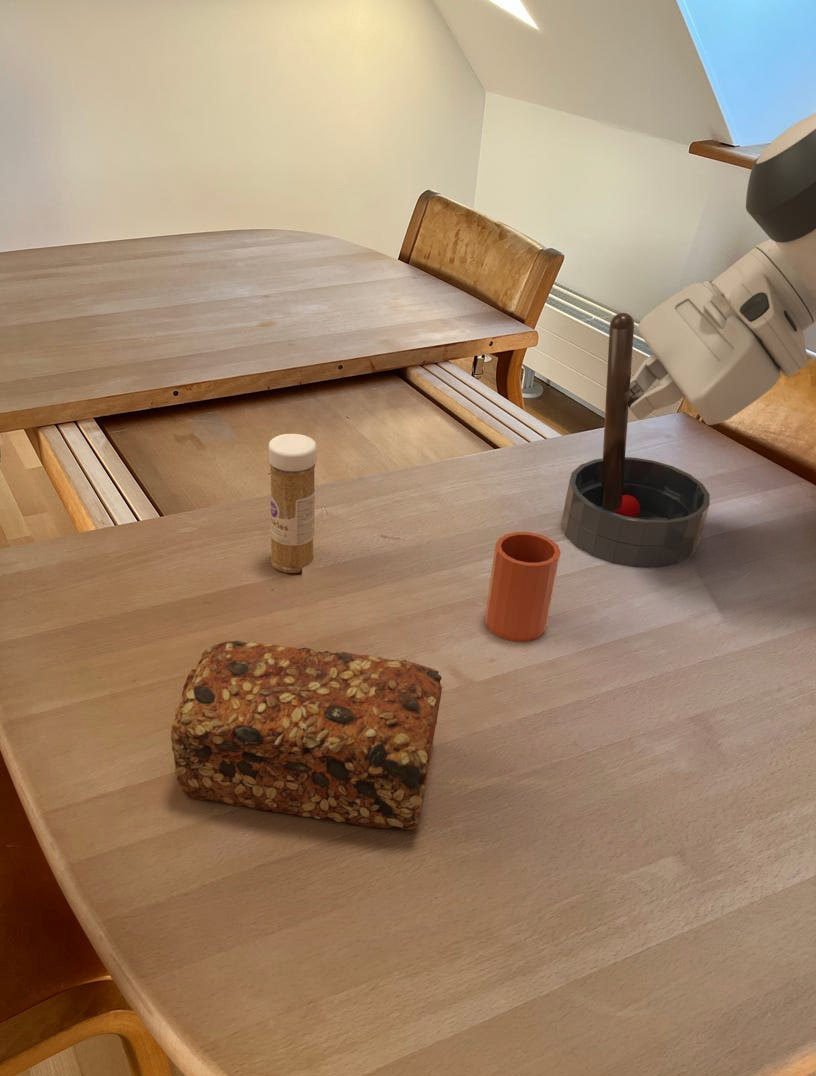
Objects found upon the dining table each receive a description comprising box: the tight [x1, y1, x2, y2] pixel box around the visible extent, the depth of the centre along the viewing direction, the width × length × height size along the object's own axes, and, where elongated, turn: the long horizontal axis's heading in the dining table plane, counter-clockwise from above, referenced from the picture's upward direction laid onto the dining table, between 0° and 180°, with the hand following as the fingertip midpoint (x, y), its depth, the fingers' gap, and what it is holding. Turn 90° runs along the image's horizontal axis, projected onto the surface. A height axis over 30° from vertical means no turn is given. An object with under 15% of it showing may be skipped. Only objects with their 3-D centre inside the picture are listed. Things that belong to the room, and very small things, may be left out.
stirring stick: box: [600, 312, 635, 512], centre depth 96 cm, size 2×2×21 cm
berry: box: [613, 495, 640, 518], centre depth 105 cm, size 3×3×3 cm
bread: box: [170, 639, 443, 830], centre depth 72 cm, size 19×11×10 cm, turn 78°
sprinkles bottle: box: [267, 433, 318, 574], centre depth 95 cm, size 5×5×13 cm
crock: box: [484, 531, 561, 643], centre depth 88 cm, size 6×6×9 cm
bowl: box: [560, 456, 711, 569], centre depth 103 cm, size 14×14×6 cm
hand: (628, 405), depth 96 cm, fingers closed on stirring stick, 2 cm apart
